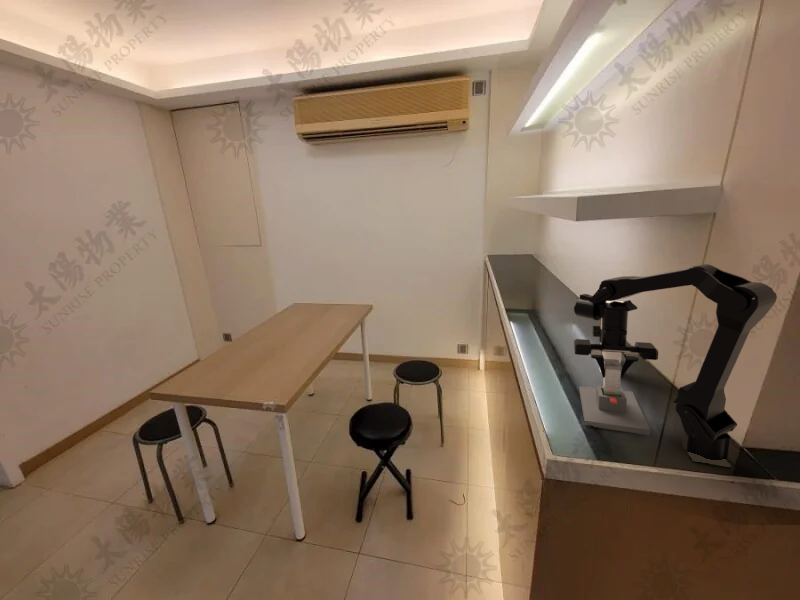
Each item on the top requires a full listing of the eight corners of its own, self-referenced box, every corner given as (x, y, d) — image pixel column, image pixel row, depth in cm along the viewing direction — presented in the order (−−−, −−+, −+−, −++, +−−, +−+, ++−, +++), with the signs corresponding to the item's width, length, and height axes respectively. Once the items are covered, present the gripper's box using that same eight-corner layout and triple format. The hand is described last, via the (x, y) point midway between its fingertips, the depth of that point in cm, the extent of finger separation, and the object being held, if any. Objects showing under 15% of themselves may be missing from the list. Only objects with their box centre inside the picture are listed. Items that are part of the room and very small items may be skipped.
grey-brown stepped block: (616, 390, 93) (618, 359, 91) (620, 398, 88) (621, 367, 86) (602, 388, 94) (603, 358, 92) (604, 397, 90) (606, 365, 88)
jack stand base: (632, 396, 98) (633, 379, 97) (649, 435, 80) (651, 415, 79) (579, 390, 104) (579, 374, 103) (585, 425, 86) (585, 406, 85)
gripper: (649, 317, 90) (645, 369, 93) (573, 315, 98) (572, 363, 101) (661, 329, 80) (656, 386, 83) (575, 326, 88) (574, 379, 91)
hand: (611, 377), depth 90 cm, fingers closed on grey-brown stepped block, 3 cm apart
